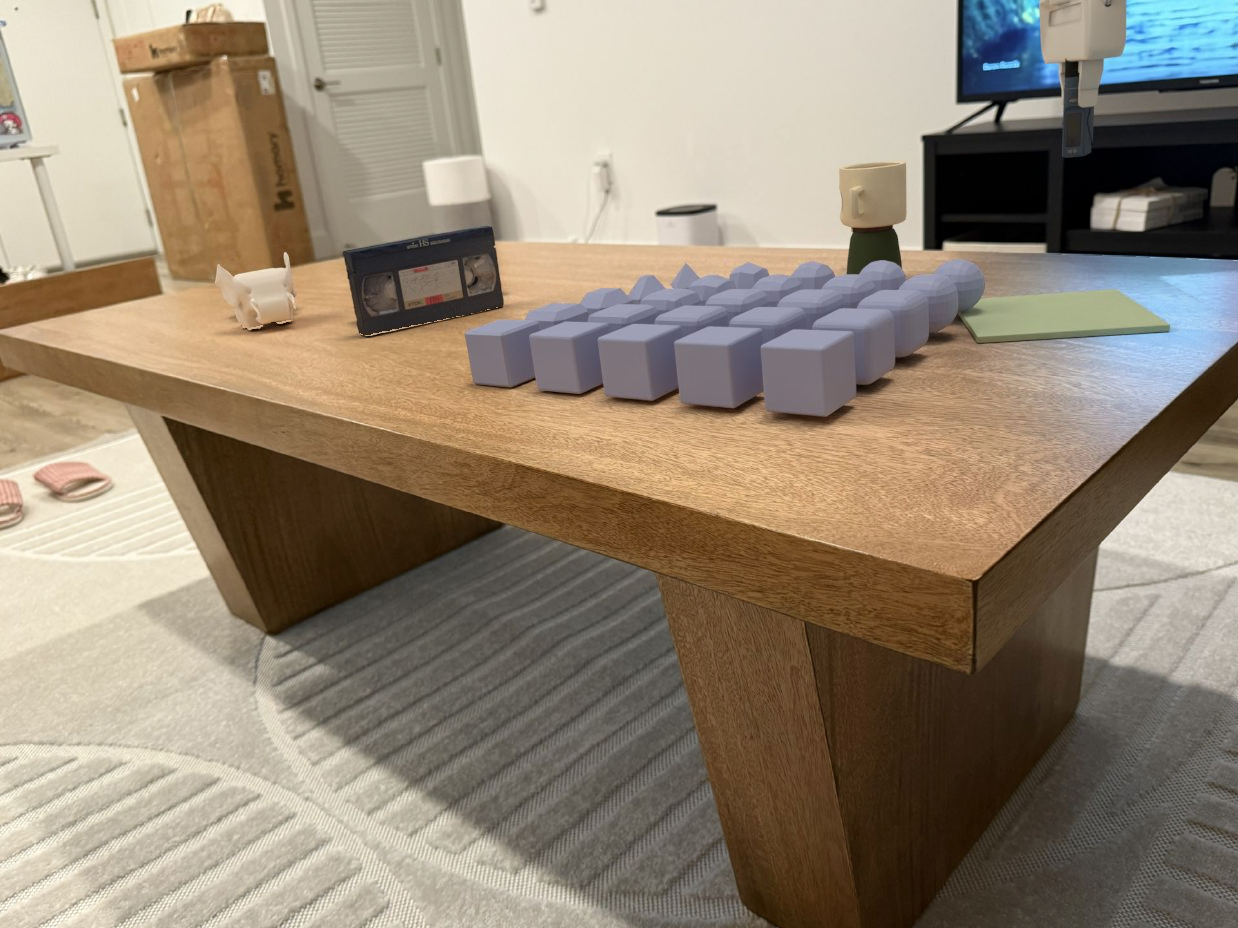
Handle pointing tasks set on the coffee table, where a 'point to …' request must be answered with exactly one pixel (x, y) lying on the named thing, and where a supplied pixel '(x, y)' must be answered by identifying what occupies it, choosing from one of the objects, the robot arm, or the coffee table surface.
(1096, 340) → the coffee table surface
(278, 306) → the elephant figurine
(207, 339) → the coffee table surface
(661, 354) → the blocks
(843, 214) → the character mug
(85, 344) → the coffee table surface
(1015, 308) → the mat
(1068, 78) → the vaping device
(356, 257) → the vhs cassette tape
